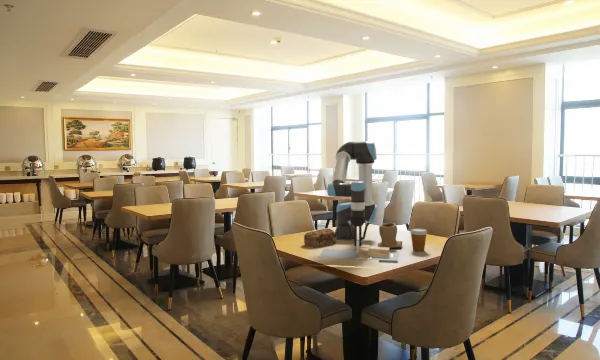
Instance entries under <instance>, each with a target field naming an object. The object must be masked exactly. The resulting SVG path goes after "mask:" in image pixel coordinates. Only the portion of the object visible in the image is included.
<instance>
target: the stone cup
mask: <svg viewBox="0 0 600 360" xmlns="http://www.w3.org/2000/svg"><path fill="white" fill-rule="evenodd" d="M378 230H379V231H378V233H379V236H380V239H381V242H378V243H377V247H388V248H389V249H393V248H394V249H396V248H400V249H401V248H402V246H403V241H402V240H397V233H398V226H397V225H396V223H395V222H385V223H383V222H382V223H381V224H380V225H379V227H378Z"/></svg>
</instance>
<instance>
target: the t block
mask: <svg viewBox="0 0 600 360" xmlns="http://www.w3.org/2000/svg"><path fill="white" fill-rule="evenodd" d="M389 251H390V248H388V247H379V246H371V245H370V244H362V245H361V246H360V248H359V258H366V259H365V260H368V257H369V256H379V257H389Z"/></svg>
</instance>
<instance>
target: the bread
mask: <svg viewBox="0 0 600 360" xmlns="http://www.w3.org/2000/svg"><path fill="white" fill-rule="evenodd" d="M303 243H304V246H306V247H307V246H308V247H310V248H320V247H324V246H329V245H336V244H337V237H336V233H335V230H333V229H331V228H328V227H325V228H321V229H316V230H312V231H308V232H306V233H305V234H303Z"/></svg>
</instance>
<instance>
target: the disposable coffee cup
mask: <svg viewBox="0 0 600 360" xmlns="http://www.w3.org/2000/svg"><path fill="white" fill-rule="evenodd" d="M409 232H410V237H411V243H412V244H411V245H412V251H414V252H424V251H425V247H426V242H427V240H426V239H427V234H428V231H427V229H425V228H412V229H410V231H409Z"/></svg>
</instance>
